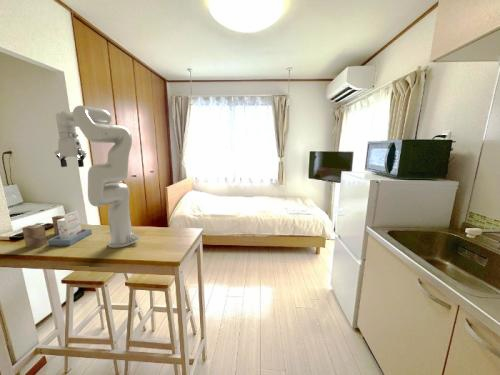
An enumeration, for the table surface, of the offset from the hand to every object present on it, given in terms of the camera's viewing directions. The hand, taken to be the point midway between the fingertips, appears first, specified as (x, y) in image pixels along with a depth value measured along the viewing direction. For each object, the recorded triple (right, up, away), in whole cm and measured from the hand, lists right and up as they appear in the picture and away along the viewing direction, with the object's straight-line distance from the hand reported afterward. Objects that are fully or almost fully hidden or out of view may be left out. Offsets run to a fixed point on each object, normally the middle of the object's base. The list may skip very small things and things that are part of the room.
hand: (72, 166), depth 121 cm
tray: (+5, -40, -7) cm, 41 cm away
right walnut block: (-7, -39, +2) cm, 39 cm away
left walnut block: (-7, -42, -13) cm, 44 cm away
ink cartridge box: (+5, -40, -6) cm, 41 cm away
